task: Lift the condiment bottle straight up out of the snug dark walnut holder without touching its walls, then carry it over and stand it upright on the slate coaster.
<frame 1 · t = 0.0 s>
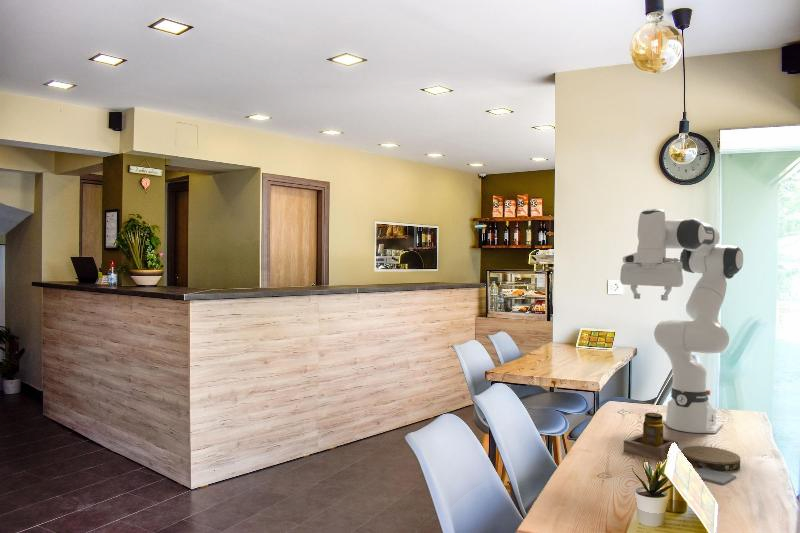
hand: (650, 299, 208), 48 cm above the table, tool pointing down, fingers open, 8 cm apart
condiment: (650, 452, 200), resting in holder
coaster: (712, 477, 177), on the table
holder: (650, 451, 200), on the table
brown round flat piece: (710, 464, 190), on the table
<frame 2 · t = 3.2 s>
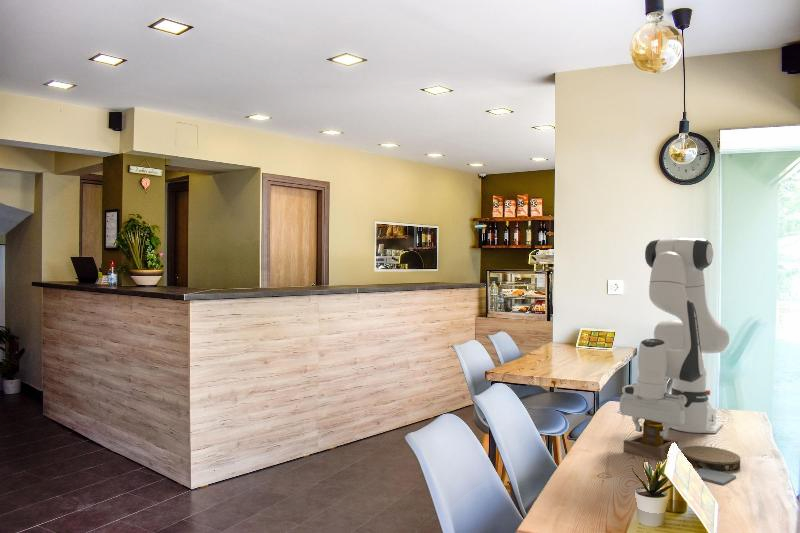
hand: (650, 434, 200), 6 cm above the table, tool pointing down, fingers open, 7 cm apart
condiment: (650, 452, 200), resting in holder, touching gripper
everything else where it was.
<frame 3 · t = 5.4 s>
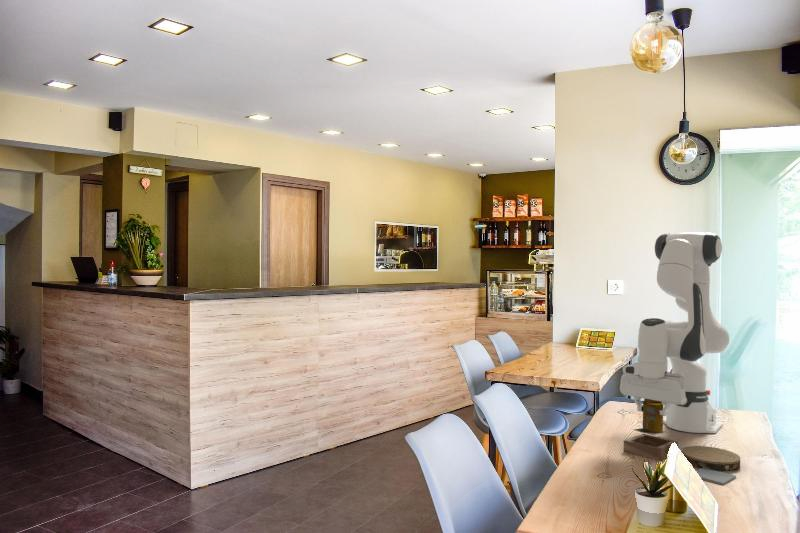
hand: (651, 413, 200), 12 cm above the table, tool pointing down, fingers closed on condiment, 6 cm apart
condiment: (650, 432, 200), point 6 cm above the table, touching gripper
everything else where it was.
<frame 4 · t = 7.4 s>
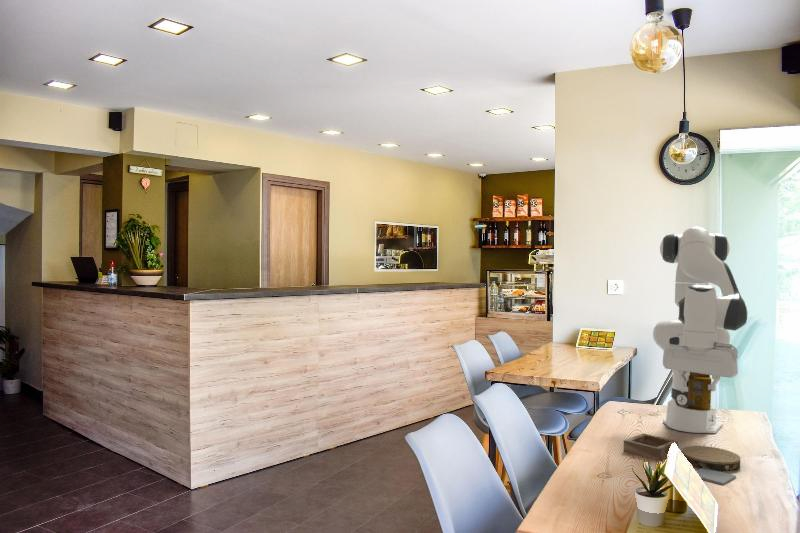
hand: (698, 388, 182), 24 cm above the table, tool pointing down, fingers closed on condiment, 6 cm apart
condiment: (696, 409, 182), point 18 cm above the table, touching gripper
everything else where it was.
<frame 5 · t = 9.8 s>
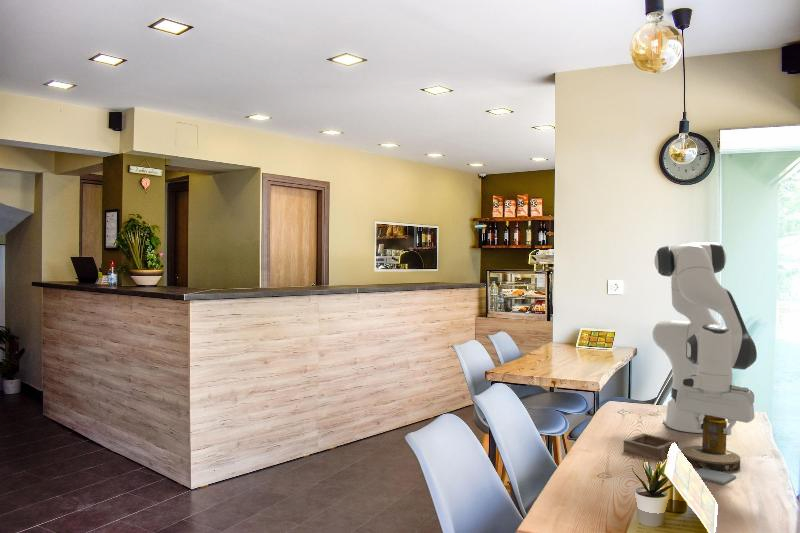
hand: (713, 431, 177), 13 cm above the table, tool pointing down, fingers closed on condiment, 6 cm apart
condiment: (711, 453, 177), point 7 cm above the table, touching gripper
everything else where it was.
when the fingers open (8 cm above the table, at t = 11.4 s): condiment drops 1 cm, resting on coaster.
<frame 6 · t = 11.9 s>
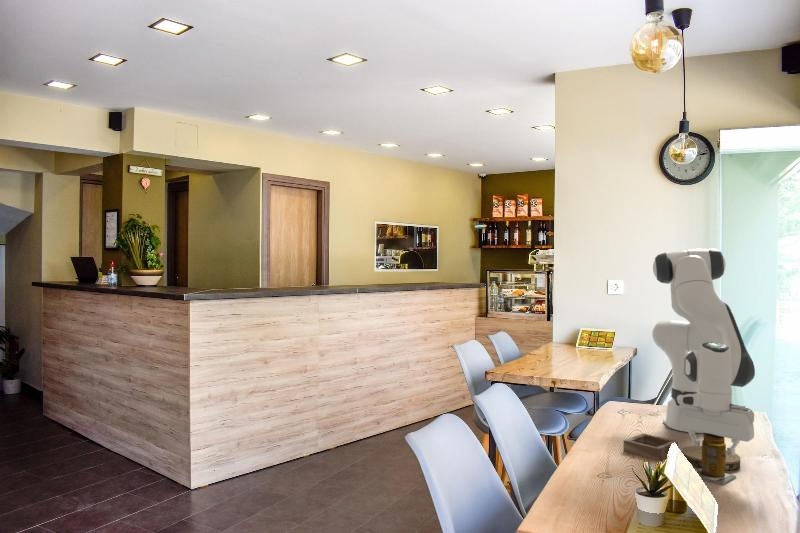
hand: (713, 449, 177), 8 cm above the table, tool pointing down, fingers open, 8 cm apart
condiment: (710, 475, 177), resting on coaster
everything else where it was.
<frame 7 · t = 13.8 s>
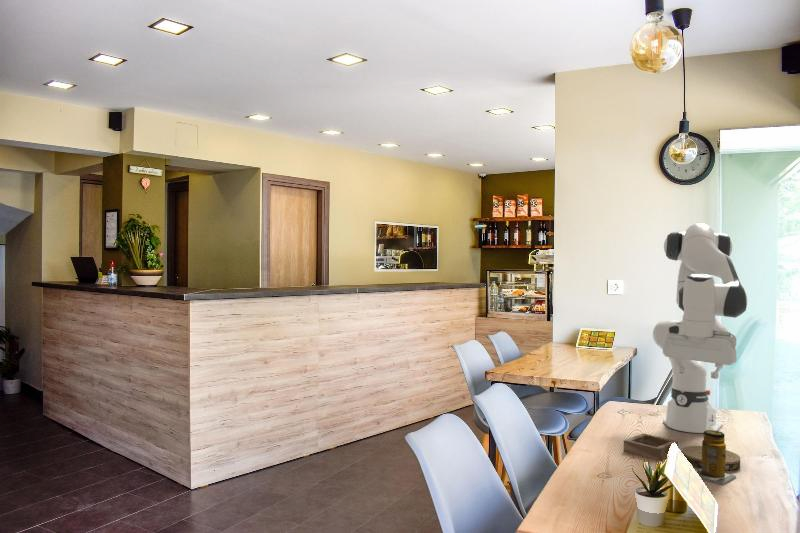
hand: (698, 375, 186), 27 cm above the table, tool pointing down, fingers open, 8 cm apart
nothing on the table moved.
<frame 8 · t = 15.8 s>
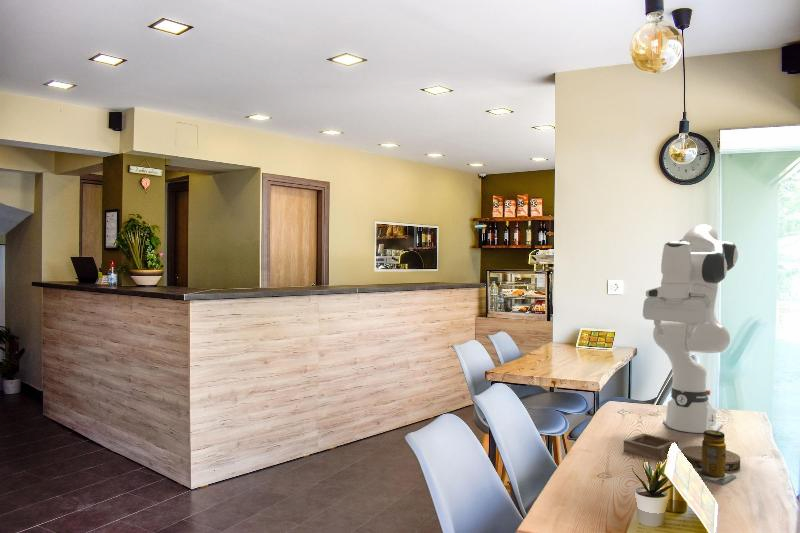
hand: (675, 336, 198), 37 cm above the table, tool pointing down, fingers open, 8 cm apart
nothing on the table moved.
at the end: condiment 0.4 cm off-centre on the coaster, point 0.4 cm above the coaster's base; condiment tilted 0°; the gripper is holding nothing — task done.
